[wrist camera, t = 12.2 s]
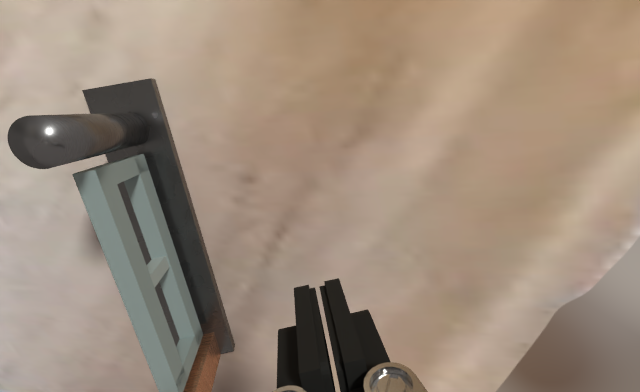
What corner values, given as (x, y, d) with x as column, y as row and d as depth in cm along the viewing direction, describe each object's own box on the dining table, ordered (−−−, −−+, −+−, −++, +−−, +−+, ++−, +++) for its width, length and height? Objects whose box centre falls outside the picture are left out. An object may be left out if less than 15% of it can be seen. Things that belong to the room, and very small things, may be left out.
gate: (127, 156, 30) (72, 174, 22) (143, 153, 30) (95, 169, 22) (189, 337, 35) (163, 401, 27) (203, 334, 35) (181, 397, 28)
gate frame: (183, 356, 38) (135, 478, 25) (88, 90, 30) (-53, 78, 17) (234, 344, 38) (211, 459, 26) (155, 79, 30) (63, 59, 17)
